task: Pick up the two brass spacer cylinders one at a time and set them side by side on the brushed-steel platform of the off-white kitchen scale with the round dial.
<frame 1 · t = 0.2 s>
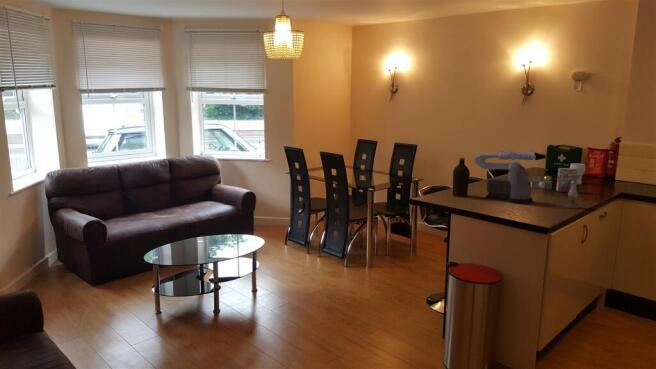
hand: (545, 156, 377), 21 cm above the worktop, tool horizontal, fingers open, 7 cm apart
scale: (540, 186, 373), on the worktop
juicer: (509, 200, 324), on the worktop
scale platform: (540, 182, 373), point 3 cm above the worktop, slide at 0.3 cm
spacer a: (536, 183, 385), on the worktop
candle holder: (571, 207, 307), on the worktop
candy bar box: (565, 192, 354), on the worktop
spacer b: (546, 182, 388), on the worktop
cup: (575, 183, 387), on the worktop
olive oil: (459, 195, 336), on the worktop
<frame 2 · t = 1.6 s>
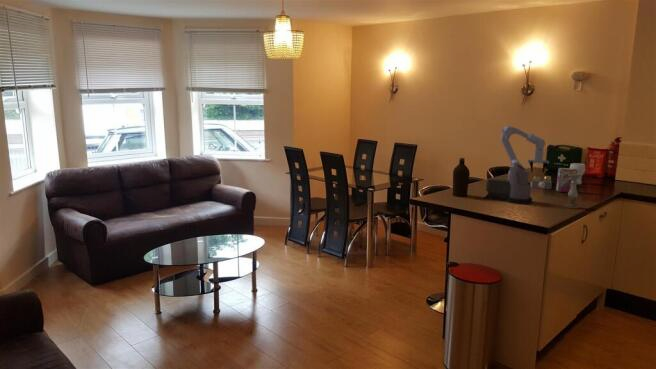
hand: (537, 172, 383), 8 cm above the worktop, tool pointing down, fingers open, 7 cm apart
nothing on the worktop moved.
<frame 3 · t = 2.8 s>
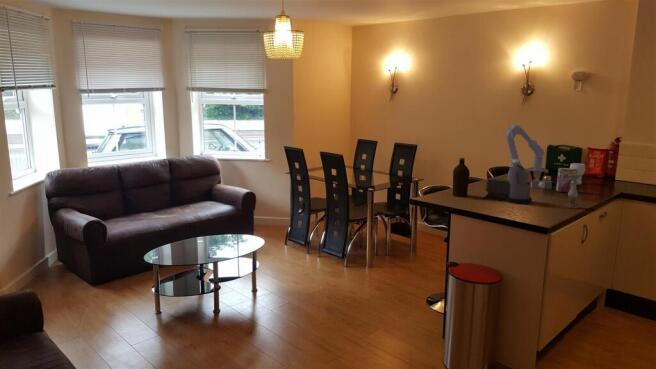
hand: (536, 181, 385), 1 cm above the worktop, tool pointing down, fingers closed on spacer a, 5 cm apart
spacer a: (536, 183, 385), on the worktop, touching gripper
everything else where it was.
when the fingers open (6 cm above the worktop, at t = 6.0 s): spacer a stays where it is, resting on scale platform.
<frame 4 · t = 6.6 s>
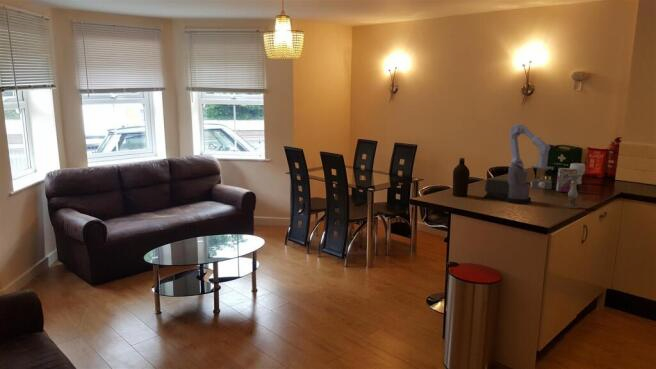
hand: (541, 178, 369), 6 cm above the worktop, tool pointing down, fingers open, 7 cm apart
scale platform: (540, 182, 373), point 3 cm above the worktop, slide at 0.4 cm, touching spacer a
spacer a: (541, 182, 371), point 3 cm above the worktop, touching scale platform
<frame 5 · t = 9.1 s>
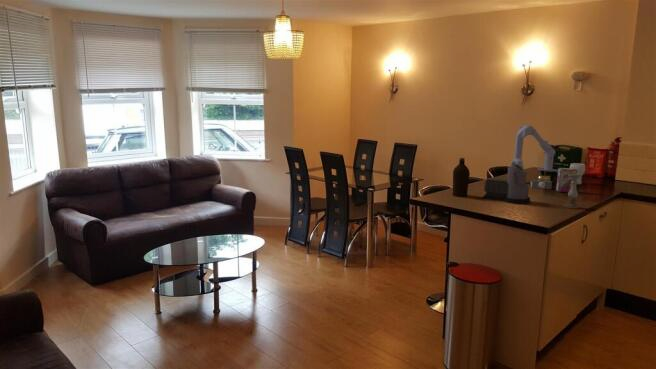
hand: (547, 180, 388), 1 cm above the worktop, tool pointing down, fingers closed on spacer b, 5 cm apart
spacer b: (546, 182, 388), on the worktop, touching gripper
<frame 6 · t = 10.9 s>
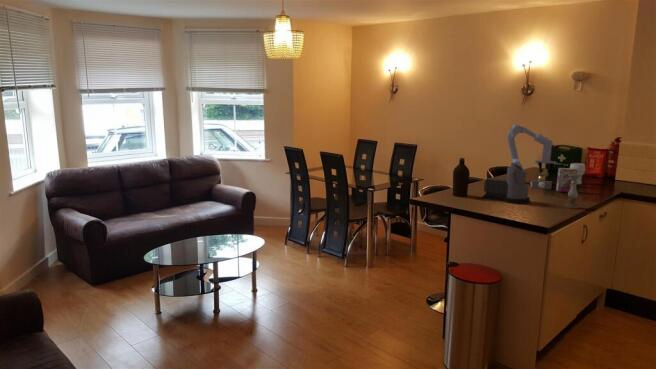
hand: (544, 173, 381), 8 cm above the worktop, tool pointing down, fingers closed on spacer b, 5 cm apart
spacer b: (544, 176, 382), point 6 cm above the worktop, touching gripper
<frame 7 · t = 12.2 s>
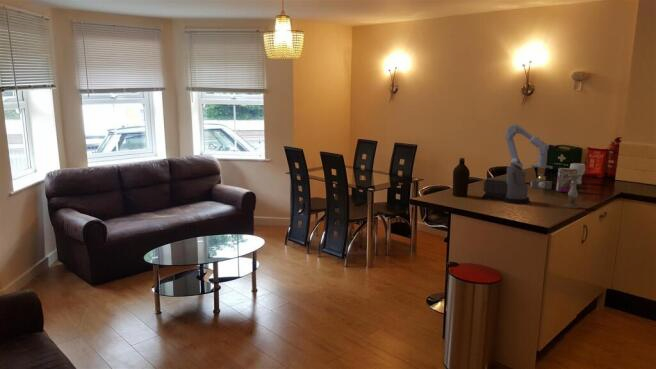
hand: (540, 177, 375), 6 cm above the worktop, tool pointing down, fingers closed on spacer b, 5 cm apart
scale platform: (540, 182, 373), point 3 cm above the worktop, slide at 0.4 cm, touching spacer a, spacer b
spacer b: (540, 181, 377), point 3 cm above the worktop, touching gripper, scale platform
when the fingers open (6 cm above the worktop, at t = 12.4 s): spacer b stays where it is, resting on scale platform.
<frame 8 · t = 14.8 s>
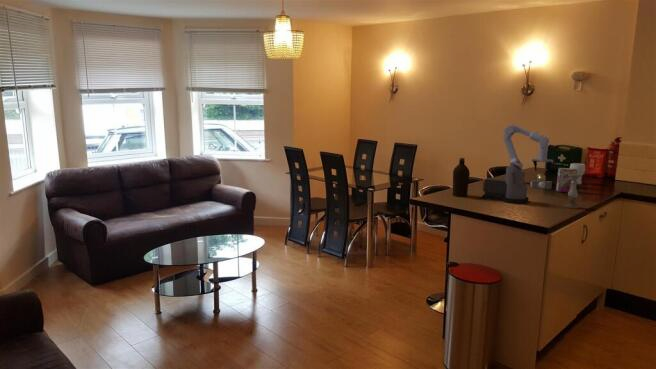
hand: (541, 171, 375), 10 cm above the worktop, tool pointing down, fingers open, 7 cm apart
spacer b: (540, 181, 377), point 3 cm above the worktop, touching scale platform
at the end: spacer a inside the target area on the scale (2.4 cm from its centre), point 2.9 cm above the scale's base; spacer b inside the target area on the scale (4.0 cm from its centre), point 3.0 cm above the scale's base; spacer b tilted 1° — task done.
